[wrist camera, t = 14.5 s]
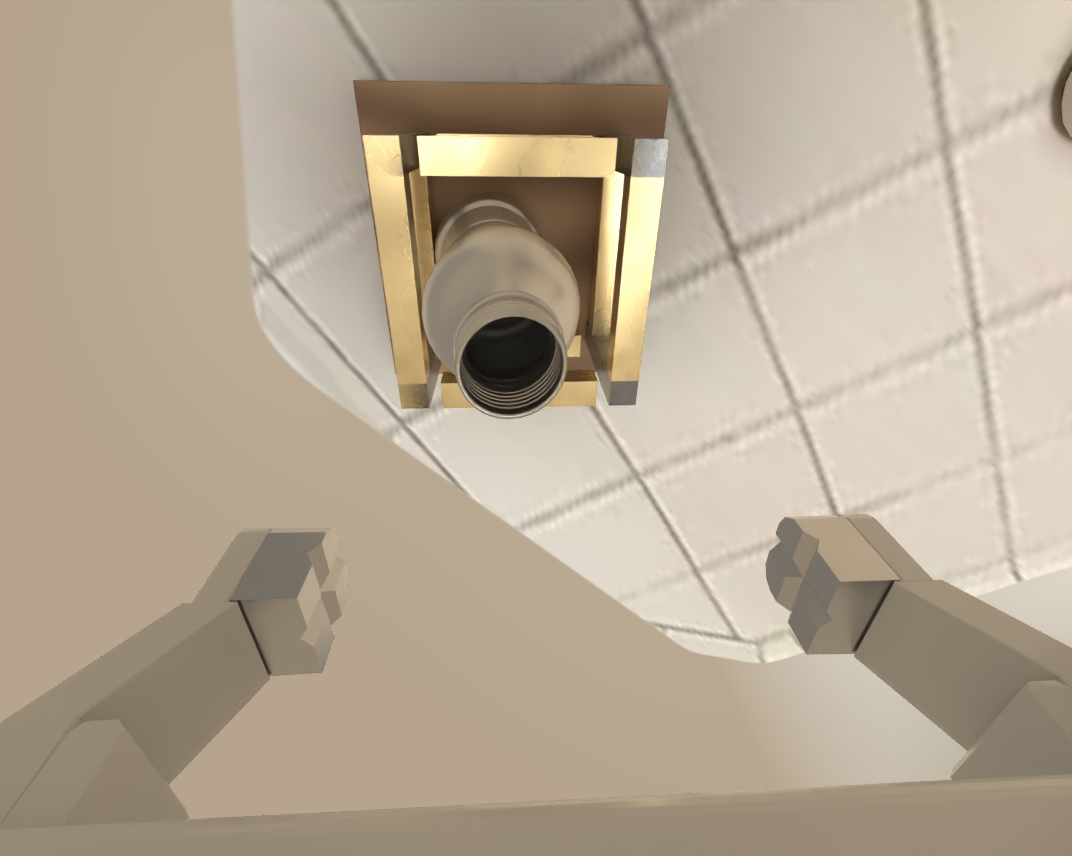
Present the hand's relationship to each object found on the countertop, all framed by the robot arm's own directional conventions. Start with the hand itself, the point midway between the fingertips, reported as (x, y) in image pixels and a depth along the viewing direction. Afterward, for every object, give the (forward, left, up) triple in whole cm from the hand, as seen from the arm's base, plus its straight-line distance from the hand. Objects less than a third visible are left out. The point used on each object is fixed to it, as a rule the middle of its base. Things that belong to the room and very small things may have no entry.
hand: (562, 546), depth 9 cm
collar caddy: (0, 0, -28) cm, 28 cm away
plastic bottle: (0, -2, -28) cm, 28 cm away
